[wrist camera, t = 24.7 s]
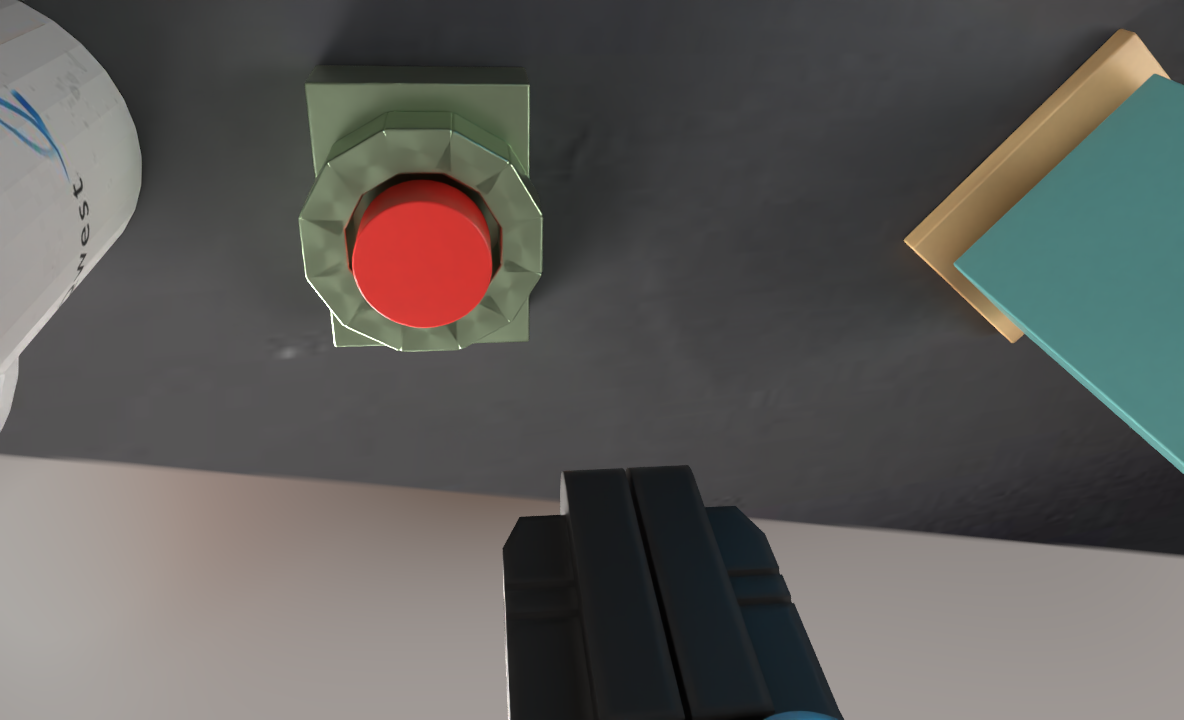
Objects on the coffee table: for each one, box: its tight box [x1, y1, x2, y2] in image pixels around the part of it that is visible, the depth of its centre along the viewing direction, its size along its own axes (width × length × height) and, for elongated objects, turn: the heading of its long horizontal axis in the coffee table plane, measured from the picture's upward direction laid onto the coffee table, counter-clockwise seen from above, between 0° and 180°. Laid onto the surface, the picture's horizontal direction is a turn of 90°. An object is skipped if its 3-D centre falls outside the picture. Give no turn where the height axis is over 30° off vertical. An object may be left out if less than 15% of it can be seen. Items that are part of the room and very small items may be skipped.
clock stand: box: [904, 29, 1171, 343], centre depth 31 cm, size 6×9×1 cm, turn 139°
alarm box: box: [298, 65, 543, 352], centre depth 27 cm, size 6×8×4 cm
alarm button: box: [352, 180, 492, 328], centre depth 25 cm, size 4×4×2 cm
